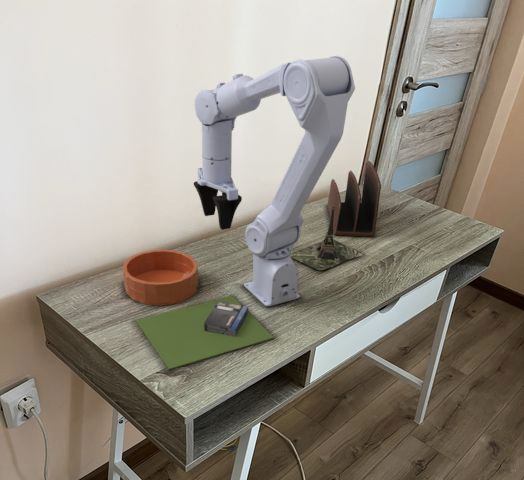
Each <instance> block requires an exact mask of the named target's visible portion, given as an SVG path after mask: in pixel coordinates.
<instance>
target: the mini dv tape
mask: <svg viewBox="0 0 524 480" xmlns="http://www.w3.org/2000/svg"><path fill="white" fill-rule="evenodd" d="M248 312H249V307H248V306H246V305H243V304H241V305H238V304H232V303H227V302H221V301H218V302H217V303H216V305H215V307H214V308H213V310H212V311H211V313H210V314H209V316H208V317H207V319H206V321H205V322H204V331H208V332H214V333H219V334H224V335H229V336H236V335H237V333H238V331H239V329H240V327H241V326H242V324H243V322H244V320H245V318H246V316H247V314H248Z"/></svg>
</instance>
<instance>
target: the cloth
mask: <svg viewBox="0 0 524 480" xmlns="http://www.w3.org/2000/svg"><path fill="white" fill-rule="evenodd" d="M218 301H221V302H227V303H232V304H238V305H242V304H241V303H240V301H238V300H237V298H236V297H235V296H233V295H231V296H227V297H223V298H218V299H215V300H211V301H206V302H203V303H197V304H194V305H189V306H187V307H183V308H179V309H175V310H171V311H165V312H163V313H158V314H155V315H151V316H148V317H141V318H139V319H136V320H135V323H136V324H137V325H138V326H139V328H140V329H141V331H142V332H143V334H144V335H145V337H146V338H147V340H148V341H149V343H150V344H151V346H152V347H153V349H154V350H155V351H156V353H157V355H158V356H159V358H161V361H162V362H163V364H164V365H165V366H166V368H167V370H168V371H171V370H174V369H178V368H182V367H184V366H187V365H191V364H195V363H198V362H201V361H205V360H207V359H210V358H211V359H212V358H214V357H218V356H221V355H224V354H228V353H231V352H234V351H237V350H241V349H244V348H248V347H251V346H254V345H257V344H261V343H265V342H267V341H271V340H274V338H275V337H274V335H272V334H271V333H270V332H269V331H268V330H267V329H266V328H265V327H264V326H263V324H261V323H260V322H259V320H257V319H256V318H255V317H254V316H253V315H252V314H251V313H250V311H248V314H247V316H246V318H245V320H244V322H243V324H242V326H241V327H240V329H239V331H238V333H237V335H236V336H229V335H224V334H219V333H214V332H208V331H204V322H205V321H206V319H207V317H208V316H209V314H210V313H211V311H212V310H213V308H214V307H215V305H216V303H217V302H218Z"/></svg>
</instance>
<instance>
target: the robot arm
mask: <svg viewBox="0 0 524 480" xmlns="http://www.w3.org/2000/svg"><path fill="white" fill-rule="evenodd" d="M231 78H232V80H231V81H228V82H226V83H225V82H219V83H217V84H216V87H215V88H214V89H201V90H200V91H199V92H198V93H197V94H196V96H195V98H194V111H195V114H196V117H197V119H198V121H199V122H200V124H201V150H202V151H201V152H202V155H201V156H202V158H201V159H202V167H198V168H197V178H198V179H197V180H196V181H194V182H193V187H194V188H195V190H196V192H197V194H198V197H199V199H200V203H201V208H202V211H203V214H204V216H205V217H210V216H214V215H215V213H216V212H217V217H218V225H219V229H220V230H222V231H224V230H229V229H231V228H232V224H233V220H234V217H235V214H236V211H237V209H238V207H239V206H240V204H241V203H242V199H243V197H242V196H241V195H240V194H239V188H237V187H236V184H235V183H234V180H233V178H232V152H233V151H232V145H233V140H232V138H233V137H232V136H233V131H234V129H235V122H236V119H237V118H238V117H240V116H242V115H245V114H248V113H250V112H253V111H256V110H257V109H258V108H259V106H260V104H261V100H263V99H265V98H269V97H271V96H272V97H273V96H275V95H278V94H280V95H281V97H286V99H287V102H288V104H289V106H290V107H291V110H292V112H293V114H294V116H295V118H296V120H297V122H298V125H299V126H300V128H302V129H303V130H304V134H303V136H302V138H301V141H300V142H299V145H298V147H297V148H296V151H295V152H294V155H293V157H292V160H291V162H290V164H289V165H288V167H287V169H286V171H285V174H284V175H283V178H282V180H281V182H280V184H279V186H278V188H277V190H276V192H275V195H274V196H273V198H272V201H271V202H270V204H269V205H268V206H267V207H266V208H265V209H263V210H262V211H261V212H259V213H258V214H257V216H256V217H255V219H254V220H253V222H250V223H249V224H248V225H247V227H246V229H245V232H244V237H245V243H246V246H247V247H248V249H249V251H250V253H252V255H253V256H252V280H251V281H249V282H244V283H243V286H244V287H245V289H247V291H249V292H250V293H251V294H252V295H253V296H254V297H255V298H256V299H257V300H258V301H259V302H260V303H261V304H262V305H264V306H265V307H266V308H267V307H272V306H276V305H279V304H283V303H286V302H290V301H294V300H297V299H300V298H301V297H300V294H298V293H297V292H298V282H299V269H298V267H297V264H295V262H294V261H293V258H292V257H291V254H292V253H291V252H292V251H293V250H294V244H296V243H297V242H298V241H299V240H300V238H301V233H302V232H301V230H302V226H303V224H304V222H305V219H304V217H303V215H302V213H301V212H302V210H303V209H304V207H305V206H306V203H307V201H308V199H309V198H310V197H311V194H312V192H313V191H314V189H315V187H316V185H317V183H318V181H319V180H320V177H321V176H322V174H323V172H324V170H325V169H326V167H327V165H328V163H329V162H330V160H331V158H332V156H333V154H334V152H335V150H336V149H337V147H338V145H339V143H340V141H341V140H342V137H343V134H344V131H345V130H344V129H345V123H346V116H347V112H348V111H347V110H348V104H349V101H350V100H351V98H352V96H353V94H354V92H355V90H356V86H355V81H354V76H353V71H352V68H351V66H350V64H349V62H348V60H346V58H345V57H343V56H340V55H332V56H329V57H322V58H314V59H295V60H293V61H291V62H285V63H282V64H280V65H278V66H277V67H274V68H272V69H271V70H269V71H267V72H265V73H264V74H261V75H259V76H257V77H255V78H253V77H252V76H250V75H247V74H245V75H244V73H235V74H234V75H232V77H231ZM219 192H221V194H220V195H219V194H218V193H219ZM216 210H217V211H216Z"/></svg>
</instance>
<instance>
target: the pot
mask: <svg viewBox="0 0 524 480" xmlns="http://www.w3.org/2000/svg"><path fill="white" fill-rule="evenodd" d="M198 265H199V264H198V261H197V260H196V259H195V258H194V257H193V256H192V255H189V254H188V253H185V252H182V251H179V250H173V249H151V250H146V251H142V252H139V253H136V254H134V255H132V256H131V257H129V258H128V259H126V260H125V261H124V263H123V265H122V276H123V284H124V290H125V293H126V294H127V296H128V297H129V298H131V299H132V300H133V301H136V302H138V303H140V304H145V305H151V306H168V305H169V306H170V305H174V304H179V303H182V302H184V301H186V300H189V299H190V298H191V297H193V296H194V295H195V294H196V293H197V291H198V288H199V266H198Z"/></svg>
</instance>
